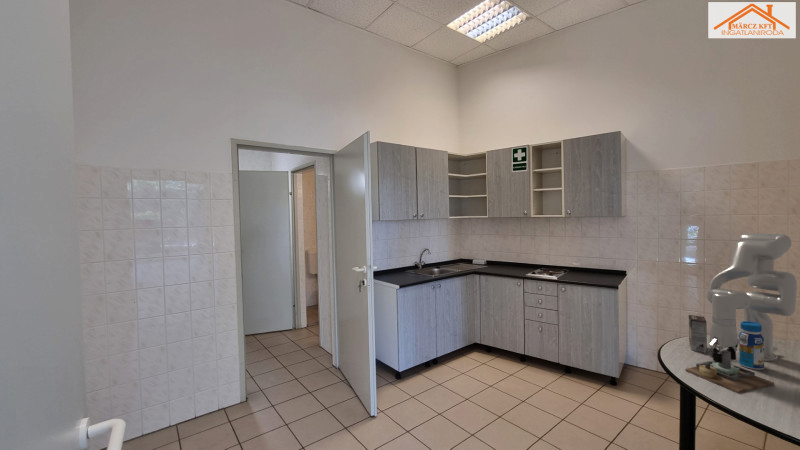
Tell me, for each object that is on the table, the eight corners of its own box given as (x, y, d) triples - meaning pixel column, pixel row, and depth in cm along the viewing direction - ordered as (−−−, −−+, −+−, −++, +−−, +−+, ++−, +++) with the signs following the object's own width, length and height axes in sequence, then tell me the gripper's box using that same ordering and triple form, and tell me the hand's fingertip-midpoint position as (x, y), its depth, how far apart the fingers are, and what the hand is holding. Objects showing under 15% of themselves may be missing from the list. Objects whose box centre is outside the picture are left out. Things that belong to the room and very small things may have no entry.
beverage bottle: (736, 360, 162) (736, 319, 161) (761, 364, 157) (761, 322, 157) (740, 367, 155) (740, 324, 155) (767, 372, 150) (767, 327, 150)
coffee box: (688, 344, 183) (688, 314, 182) (704, 346, 179) (704, 316, 179) (690, 350, 176) (690, 319, 175) (707, 352, 172) (706, 321, 171)
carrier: (718, 364, 160) (718, 351, 159) (773, 384, 140) (773, 370, 140) (685, 370, 155) (685, 358, 155) (738, 393, 136) (738, 378, 135)
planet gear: (720, 364, 157) (720, 345, 156) (745, 374, 148) (745, 353, 147) (704, 368, 155) (704, 348, 154) (729, 377, 146) (728, 357, 145)
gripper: (728, 316, 156) (729, 354, 157) (699, 320, 152) (700, 359, 153) (748, 321, 149) (749, 360, 149) (718, 326, 145) (719, 367, 145)
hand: (724, 360), depth 151 cm, fingers open, 7 cm apart
